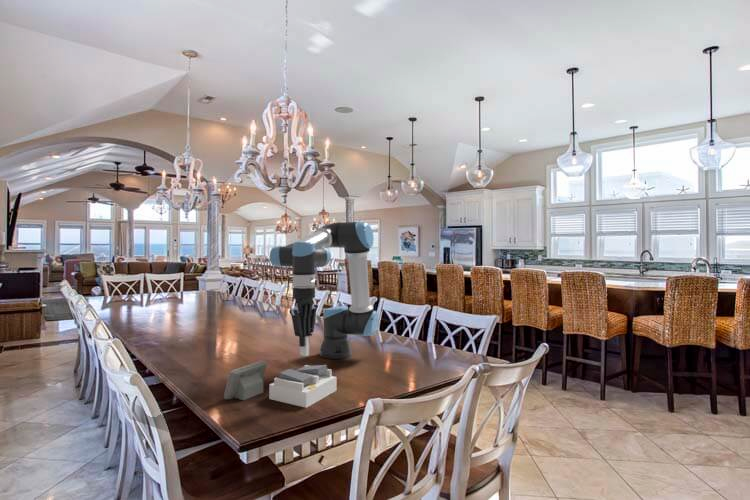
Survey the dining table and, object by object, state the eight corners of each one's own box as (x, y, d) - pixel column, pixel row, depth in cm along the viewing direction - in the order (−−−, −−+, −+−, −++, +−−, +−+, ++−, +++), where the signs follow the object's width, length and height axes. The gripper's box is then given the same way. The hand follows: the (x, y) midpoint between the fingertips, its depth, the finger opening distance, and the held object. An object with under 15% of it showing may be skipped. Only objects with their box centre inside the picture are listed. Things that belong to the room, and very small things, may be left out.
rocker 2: (296, 376, 148) (295, 370, 149) (305, 372, 153) (305, 366, 153) (318, 375, 144) (317, 368, 144) (327, 370, 149) (326, 364, 149)
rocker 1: (279, 378, 141) (279, 372, 141) (289, 374, 145) (290, 368, 145) (302, 387, 136) (302, 380, 136) (311, 382, 141) (312, 376, 141)
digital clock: (259, 385, 154) (259, 357, 154) (273, 391, 148) (273, 362, 147) (218, 397, 142) (218, 367, 142) (231, 404, 136) (231, 373, 136)
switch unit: (269, 398, 141) (269, 377, 140) (301, 383, 156) (301, 364, 156) (306, 407, 133) (306, 385, 133) (336, 390, 149) (336, 370, 149)
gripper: (300, 289, 131) (301, 361, 132) (324, 285, 143) (324, 351, 143) (282, 288, 135) (283, 358, 135) (306, 284, 146) (307, 349, 147)
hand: (304, 354), depth 139 cm, fingers closed
